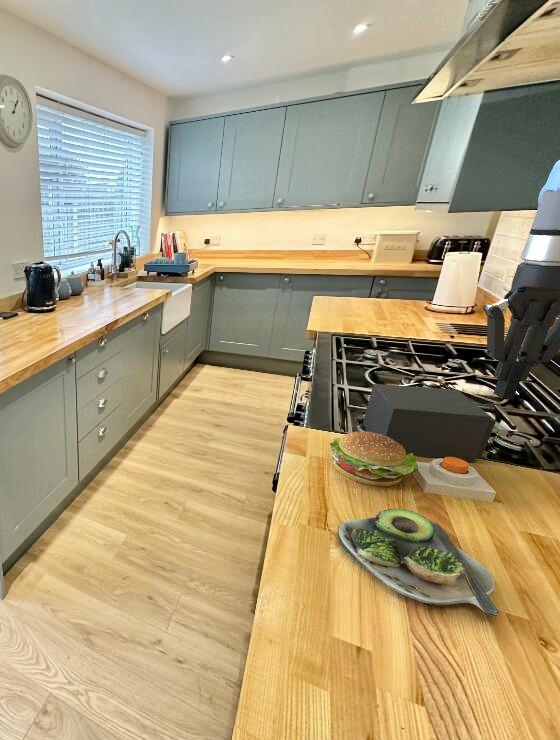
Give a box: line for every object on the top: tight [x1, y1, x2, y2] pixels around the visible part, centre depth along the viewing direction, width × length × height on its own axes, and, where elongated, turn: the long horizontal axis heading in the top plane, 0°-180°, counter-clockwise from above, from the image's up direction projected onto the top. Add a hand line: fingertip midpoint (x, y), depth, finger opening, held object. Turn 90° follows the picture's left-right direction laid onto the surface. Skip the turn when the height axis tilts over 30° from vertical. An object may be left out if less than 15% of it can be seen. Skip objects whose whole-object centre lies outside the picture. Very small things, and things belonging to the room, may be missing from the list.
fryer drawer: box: [475, 417, 509, 460], centre depth 92 cm, size 19×13×9 cm
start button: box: [441, 457, 470, 474], centre depth 80 cm, size 4×4×2 cm
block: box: [410, 458, 497, 503], centre depth 80 cm, size 10×8×4 cm
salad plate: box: [337, 508, 500, 617], centre depth 63 cm, size 19×18×5 cm
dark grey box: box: [362, 383, 493, 464], centre depth 94 cm, size 16×14×11 cm
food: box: [329, 430, 418, 487], centre depth 85 cm, size 14×14×8 cm
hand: (502, 396), depth 75 cm, fingers closed
